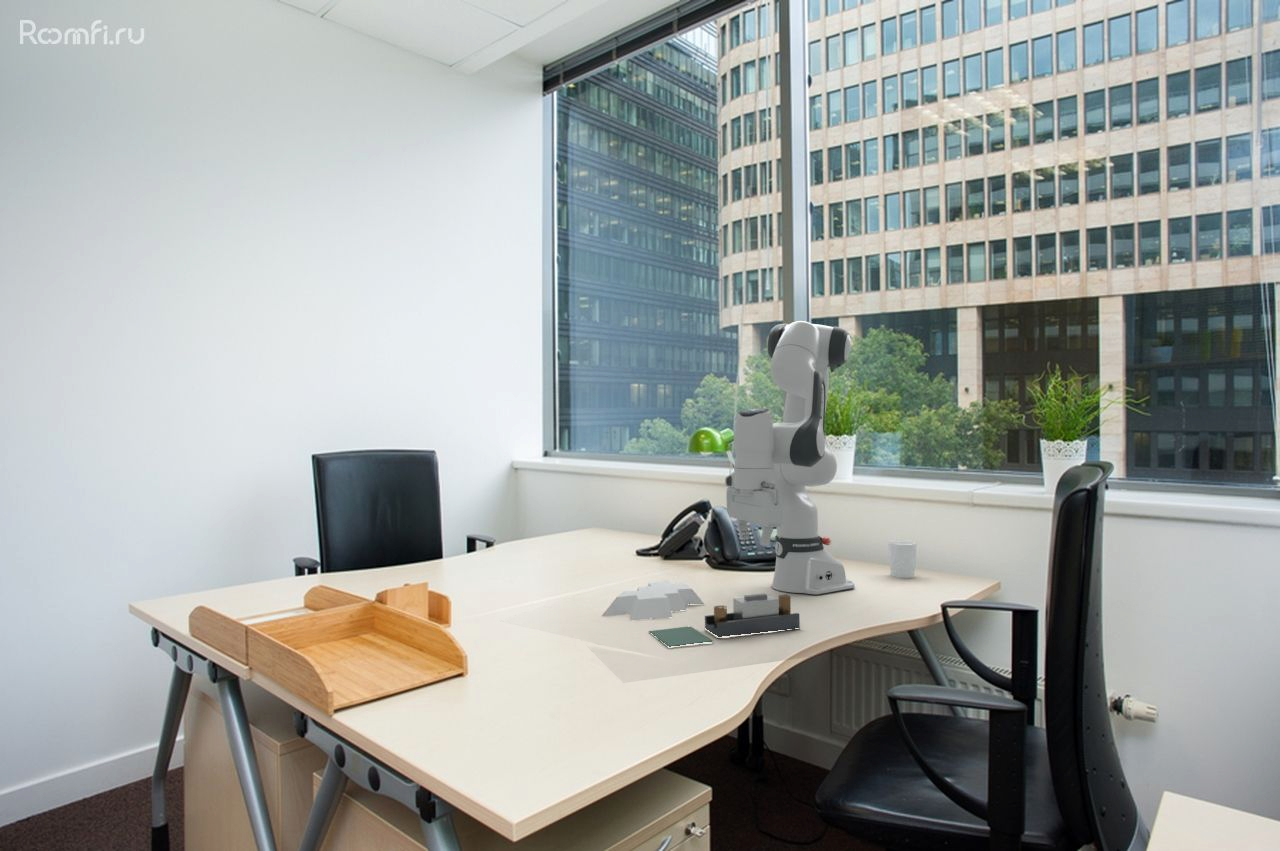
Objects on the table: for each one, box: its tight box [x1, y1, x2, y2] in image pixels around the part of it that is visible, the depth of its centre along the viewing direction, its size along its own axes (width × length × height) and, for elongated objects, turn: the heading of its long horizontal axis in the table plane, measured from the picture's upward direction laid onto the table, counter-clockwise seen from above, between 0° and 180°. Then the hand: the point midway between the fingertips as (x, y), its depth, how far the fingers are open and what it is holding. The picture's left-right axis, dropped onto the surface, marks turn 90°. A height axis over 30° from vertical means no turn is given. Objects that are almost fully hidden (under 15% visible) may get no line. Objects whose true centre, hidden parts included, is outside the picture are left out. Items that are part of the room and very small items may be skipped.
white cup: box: [887, 539, 917, 579], centre depth 227 cm, size 8×8×10 cm
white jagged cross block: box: [601, 579, 705, 621], centre depth 193 cm, size 35×20×6 cm, turn 145°
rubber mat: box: [648, 626, 714, 647], centre depth 167 cm, size 10×12×1 cm
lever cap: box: [732, 593, 779, 620], centre depth 173 cm, size 9×4×6 cm, turn 110°
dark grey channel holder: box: [704, 594, 801, 637], centre depth 173 cm, size 20×7×7 cm, turn 110°
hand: (754, 542), depth 173 cm, fingers open, 8 cm apart
